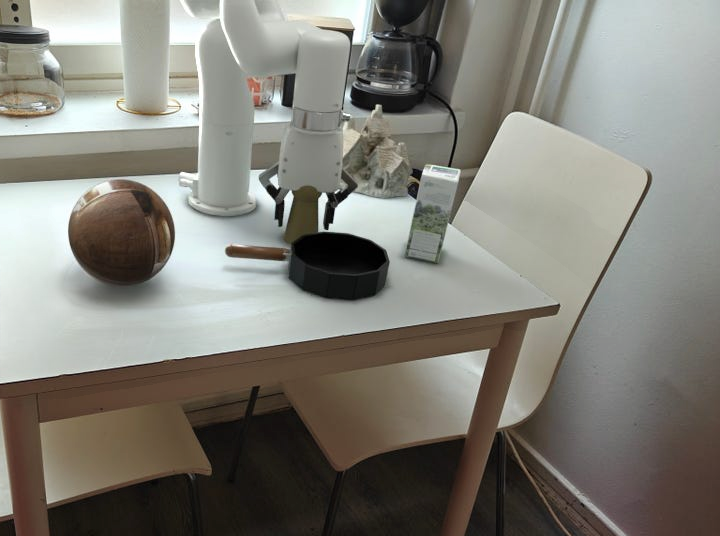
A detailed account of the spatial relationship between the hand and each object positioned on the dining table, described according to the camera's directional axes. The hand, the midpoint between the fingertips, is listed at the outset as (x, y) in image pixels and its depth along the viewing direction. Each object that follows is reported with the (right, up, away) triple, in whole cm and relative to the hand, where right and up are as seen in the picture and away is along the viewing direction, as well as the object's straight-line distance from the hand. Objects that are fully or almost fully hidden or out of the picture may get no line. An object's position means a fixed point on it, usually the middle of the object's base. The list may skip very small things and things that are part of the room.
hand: (302, 224), depth 120 cm
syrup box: (+20, -5, 0) cm, 21 cm away
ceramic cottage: (+15, +13, +26) cm, 33 cm away
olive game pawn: (0, -2, +2) cm, 3 cm away
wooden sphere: (-28, -11, -14) cm, 33 cm away
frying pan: (-1, -9, -9) cm, 13 cm away
